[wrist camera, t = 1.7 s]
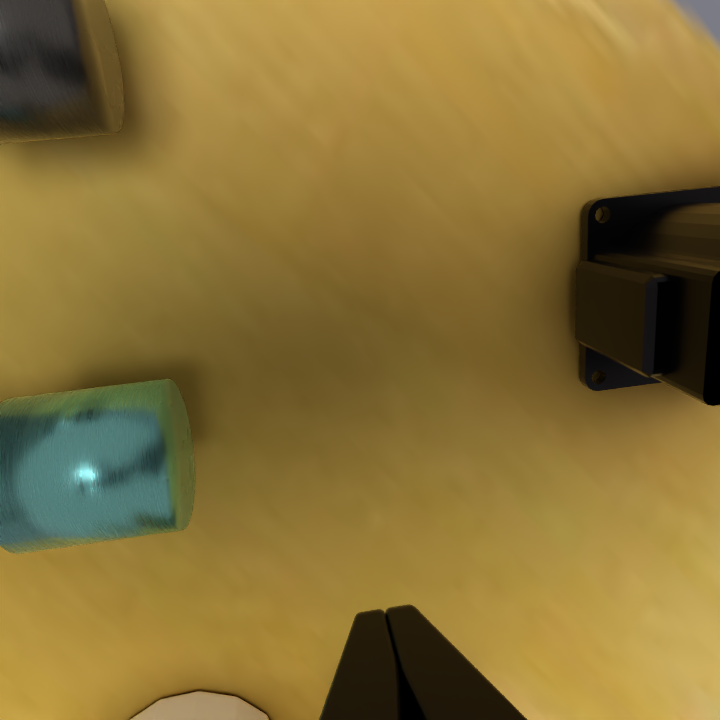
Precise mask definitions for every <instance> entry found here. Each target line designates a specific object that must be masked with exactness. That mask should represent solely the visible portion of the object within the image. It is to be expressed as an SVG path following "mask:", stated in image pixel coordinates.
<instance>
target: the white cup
mask: <svg viewBox="0 0 720 720" xmlns="http://www.w3.org/2000/svg"><path fill="white" fill-rule="evenodd" d="M130 720H269V718H268V716H267V715H266V714H265V713H263V712H262V711H260V710H258V709H257V708H255V707H253V706H252V705H250V704H248V703H247V702H245V701H243V700H242V699H240V698H238V697H235V696H229V695H222V694H216V693H209V692H201V691H197V692H193V693H188V694H183V695H178V696H174V697H169V698H164V699H160V700H159V701H157V702H156V703H154V704H153V705H151V706H150V707H148V708H147V709H145V710H144V711H142V712H141V713H139V714H138V715H136V716H135V717H133V718H132V719H130Z"/></svg>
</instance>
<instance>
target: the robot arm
mask: <svg viewBox="0 0 720 720" xmlns="http://www.w3.org/2000/svg"><path fill="white" fill-rule="evenodd" d="M600 207H601V208H602V209H603V211H604V216H603V218H602V220H601V221H599V222H598V221H597V220H596V217H595V214H596V211H597V210H598V209H599V208H600ZM575 337H576V339H577V340H578V341H579V342H580V381H581V382H582V383H583V385H585V386H586V387H588V388H590V389H592V390H594V391H601V390H608V389H616V388H623V387H631V386H638V385H646V384H653V383H661V382H663V383H665V384H667V385H669V386H671V387H673V388H675V389H677V390H679V391H681V392H683V393H685V394H687V395H689V396H691V397H693V398H695V399H697V400H699V401H701V402H703V403H705V404H707V405H712V406H715V405H719V406H720V186H713V187H704V188H694V189H685V190H675V191H665V192H656V193H646V194H636V195H627V196H617V197H608V198H598V199H594V200H591V201H590V202H589V203H587V204H586V206H585V207H584V209H583V213H582V243H581V263H580V264H579V266H578V267H577V269H576V325H575ZM598 370H599V371H600V375H599V377H598V378H597V379H596V380H594V381H592V375H593V374H594V373H595V372H596V371H598ZM319 720H527V719H526V718H525V717H524V716H523V715H522V714H521V713H520V712H519V711H518V710H517V709H516V708H515V707H514V706H513V705H512V704H511V703H510V702H509V701H508V700H507V699H506V698H505V697H504V696H503V695H502V694H501V693H500V692H499V691H498V690H497V689H496V688H495V687H494V686H493V685H492V684H491V683H490V682H489V681H488V680H487V679H486V678H485V677H484V676H483V675H482V674H481V673H480V672H479V671H478V670H477V669H476V668H475V667H474V666H473V665H472V664H471V663H470V662H469V661H468V660H467V659H466V658H465V657H464V656H463V655H462V654H461V653H460V652H459V651H458V650H457V649H456V648H455V647H454V646H453V645H452V644H451V643H450V642H449V641H448V640H447V639H446V638H445V637H444V636H443V635H442V634H441V633H440V632H439V631H438V630H437V629H436V628H435V627H434V626H433V625H432V624H431V623H430V622H429V621H428V620H427V619H426V618H425V616H424V615H423V614H422V613H421V612H420V611H419V610H418V609H417V608H416V607H414V606H413V605H402V606H396V607H390V608H388V609H387V610H386V612H384V611H383V610H381V609H378V610H371V611H365V612H360V613H358V614H357V615H356V616H355V618H354V621H353V624H352V627H351V630H350V633H349V636H348V638H347V641H346V644H345V647H344V650H343V653H342V656H341V659H340V661H339V664H338V667H337V670H336V673H335V676H334V679H333V681H332V684H331V687H330V690H329V693H328V696H327V699H326V702H325V704H324V707H323V710H322V713H321V716H320V719H319Z"/></svg>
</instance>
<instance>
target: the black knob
mask: <svg viewBox="0 0 720 720" xmlns="http://www.w3.org/2000/svg"><path fill="white" fill-rule="evenodd" d="M123 120H124V89H123V80H122V73H121V67H120V61H119V56H118V51H117V46H116V42H115V38H114V33H113V29H112V26H111V22H110V18H109V15H108V11H107V8H106V5H105V2H104V0H0V144H6V143H17V142H28V141H40V140H51V139H63V138H74V137H86V136H97V135H108V134H116V133H118V132H119V131H120V130H121V128H122V125H123Z"/></svg>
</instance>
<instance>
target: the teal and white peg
mask: <svg viewBox="0 0 720 720" xmlns="http://www.w3.org/2000/svg"><path fill="white" fill-rule="evenodd" d="M194 494H195V462H194V450H193V441H192V434H191V428H190V423H189V418H188V414H187V410H186V406H185V403H184V400H183V397H182V395H181V392H180V390H179V388H178V386H177V385H176V384H175V382H174V381H173V380H171V379H161V380H153V381H145V382H136V383H128V384H120V385H112V386H104V387H96V388H88V389H80V390H72V391H63V392H55V393H47V394H39V395H31V396H23V397H15V398H9V399H6V400H4V401H2V402H1V403H0V546H1V547H3V548H4V549H5V550H7V551H9V552H11V553H15V554H22V553H29V552H36V551H43V550H49V549H56V548H63V547H70V546H77V545H84V544H91V543H98V542H104V541H111V540H118V539H125V538H132V537H139V536H146V535H153V534H160V533H166V532H173V531H180V530H184V529H185V528H186V527H187V525H188V524H189V521H190V519H191V515H192V510H193V504H194Z"/></svg>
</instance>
